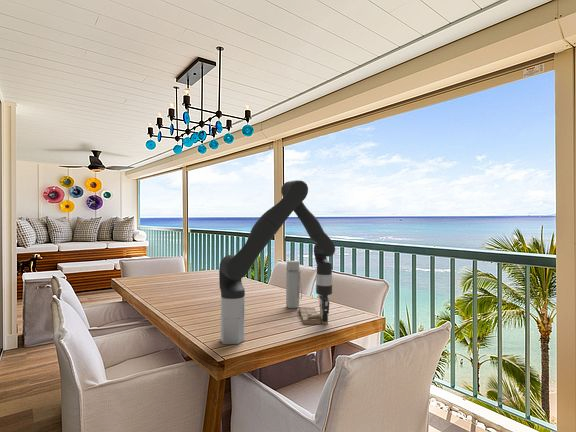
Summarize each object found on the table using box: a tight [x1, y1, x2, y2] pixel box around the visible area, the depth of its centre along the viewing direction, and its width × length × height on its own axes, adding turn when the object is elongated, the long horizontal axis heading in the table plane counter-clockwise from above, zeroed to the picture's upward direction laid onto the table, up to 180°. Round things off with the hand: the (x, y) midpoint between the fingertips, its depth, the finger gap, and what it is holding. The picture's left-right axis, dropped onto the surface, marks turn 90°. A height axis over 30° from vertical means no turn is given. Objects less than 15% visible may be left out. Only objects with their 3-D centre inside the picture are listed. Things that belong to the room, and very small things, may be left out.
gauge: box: [308, 307, 329, 325], centre depth 152 cm, size 5×9×6 cm, turn 93°
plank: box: [298, 306, 322, 325], centre depth 160 cm, size 22×8×2 cm, turn 3°
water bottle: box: [285, 260, 303, 309], centre depth 178 cm, size 9×8×25 cm
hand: (323, 319), depth 152 cm, fingers closed on gauge, 5 cm apart
